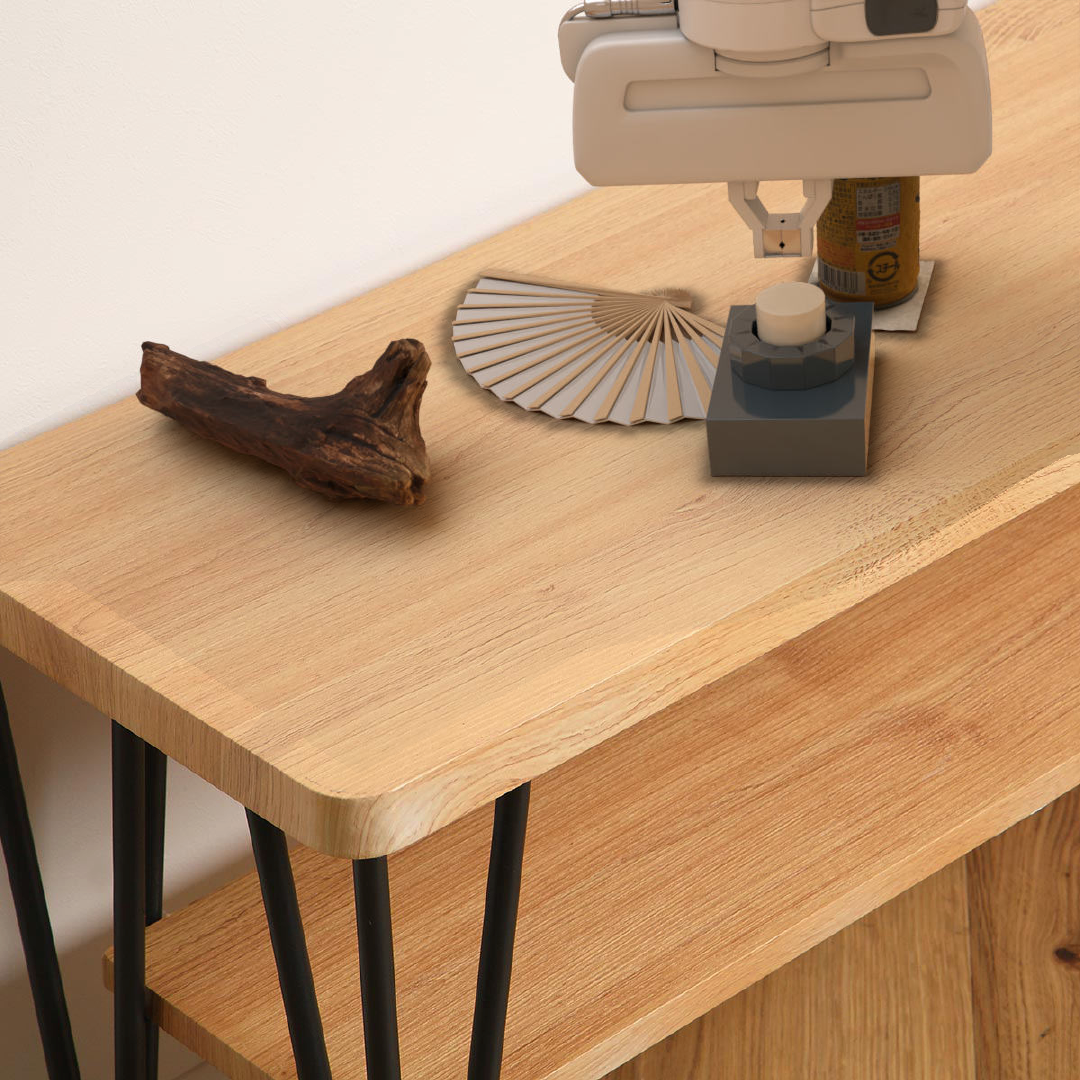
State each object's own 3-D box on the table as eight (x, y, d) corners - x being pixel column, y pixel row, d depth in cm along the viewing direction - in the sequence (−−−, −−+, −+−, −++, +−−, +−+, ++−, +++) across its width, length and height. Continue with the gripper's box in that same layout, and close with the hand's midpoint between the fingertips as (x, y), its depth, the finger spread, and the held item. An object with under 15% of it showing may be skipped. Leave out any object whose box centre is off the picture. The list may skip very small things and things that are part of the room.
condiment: (934, 264, 100) (936, 76, 93) (915, 333, 94) (915, 137, 87) (816, 261, 102) (809, 77, 95) (790, 328, 96) (780, 137, 89)
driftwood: (497, 468, 88) (473, 339, 84) (409, 551, 83) (378, 418, 79) (195, 393, 100) (159, 276, 95) (101, 462, 95) (58, 342, 90)
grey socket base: (874, 355, 92) (873, 269, 89) (866, 476, 83) (863, 384, 80) (734, 358, 94) (728, 273, 91) (710, 476, 85) (702, 386, 82)
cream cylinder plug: (828, 314, 87) (827, 280, 85) (824, 348, 84) (822, 313, 83) (760, 315, 88) (758, 281, 86) (754, 350, 85) (752, 315, 84)
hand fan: (528, 253, 109) (366, 352, 101) (527, 242, 109) (364, 341, 101) (863, 350, 93) (702, 478, 85) (863, 338, 93) (701, 465, 85)
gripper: (539, 20, 75) (574, 286, 83) (1000, -8, 70) (989, 278, 78) (565, -26, 80) (595, 230, 88) (997, -55, 75) (987, 219, 83)
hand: (784, 252), depth 83 cm, fingers closed
